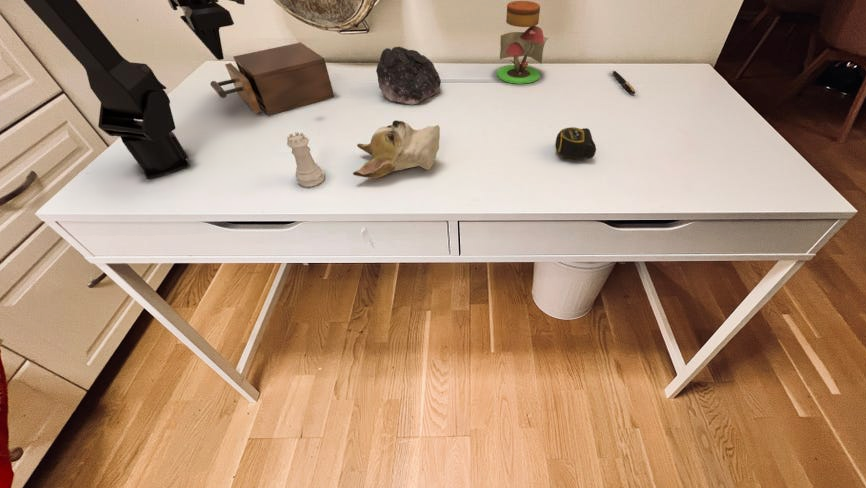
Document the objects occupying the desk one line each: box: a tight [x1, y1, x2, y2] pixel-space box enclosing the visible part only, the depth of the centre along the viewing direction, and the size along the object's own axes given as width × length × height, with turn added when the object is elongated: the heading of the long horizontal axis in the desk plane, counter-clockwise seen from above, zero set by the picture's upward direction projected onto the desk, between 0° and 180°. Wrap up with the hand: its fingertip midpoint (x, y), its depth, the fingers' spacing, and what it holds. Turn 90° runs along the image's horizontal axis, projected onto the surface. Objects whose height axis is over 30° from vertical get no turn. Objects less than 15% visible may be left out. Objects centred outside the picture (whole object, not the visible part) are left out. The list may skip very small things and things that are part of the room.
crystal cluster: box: [375, 46, 442, 106], centre depth 87 cm, size 13×14×10 cm
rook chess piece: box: [286, 131, 325, 188], centre depth 63 cm, size 4×4×8 cm
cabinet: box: [233, 41, 335, 116], centre depth 85 cm, size 15×13×8 cm
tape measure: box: [554, 126, 597, 160], centre depth 71 cm, size 7×7×4 cm
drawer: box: [210, 62, 264, 114], centre depth 83 cm, size 18×11×6 cm, turn 130°
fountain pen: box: [611, 69, 636, 95], centre depth 94 cm, size 14×1×2 cm, turn 8°
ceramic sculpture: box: [352, 120, 441, 179], centre depth 66 cm, size 11×9×15 cm
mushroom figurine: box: [496, 0, 550, 85], centre depth 92 cm, size 12×13×15 cm
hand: (220, 59), depth 76 cm, fingers closed
